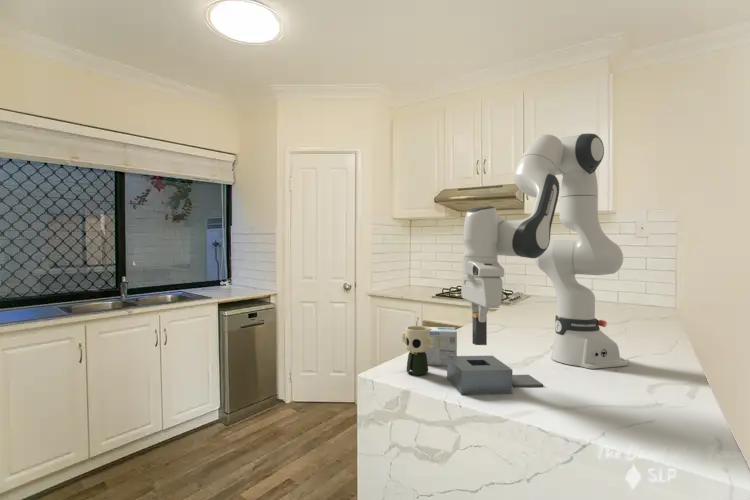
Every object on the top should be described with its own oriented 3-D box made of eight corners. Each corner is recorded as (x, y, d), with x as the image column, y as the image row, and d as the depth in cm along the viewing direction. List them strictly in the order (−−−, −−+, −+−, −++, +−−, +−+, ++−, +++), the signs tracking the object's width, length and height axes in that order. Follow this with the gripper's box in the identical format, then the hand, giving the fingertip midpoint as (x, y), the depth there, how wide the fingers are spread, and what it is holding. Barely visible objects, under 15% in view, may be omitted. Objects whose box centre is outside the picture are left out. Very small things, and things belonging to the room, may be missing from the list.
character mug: (394, 371, 119) (395, 327, 118) (409, 366, 124) (409, 323, 124) (426, 380, 112) (426, 332, 111) (440, 374, 117) (440, 328, 117)
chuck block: (485, 371, 120) (485, 350, 120) (512, 393, 102) (512, 369, 102) (442, 372, 119) (442, 351, 119) (461, 394, 101) (461, 370, 101)
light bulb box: (455, 360, 131) (455, 326, 131) (457, 366, 125) (457, 331, 125) (421, 359, 133) (422, 325, 132) (422, 365, 126) (422, 330, 126)
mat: (528, 376, 116) (528, 374, 116) (542, 386, 108) (542, 384, 108) (501, 377, 115) (501, 375, 115) (513, 387, 107) (513, 384, 107)
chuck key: (482, 343, 109) (482, 313, 110) (486, 345, 106) (486, 313, 107) (472, 343, 109) (472, 313, 109) (476, 345, 106) (476, 313, 106)
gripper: (456, 265, 118) (455, 313, 118) (482, 269, 97) (480, 327, 98) (477, 266, 118) (476, 313, 119) (507, 270, 98) (506, 327, 98)
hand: (478, 320), depth 108 cm, fingers closed on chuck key, 3 cm apart
